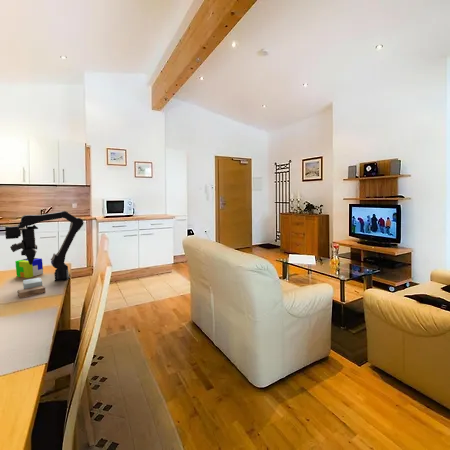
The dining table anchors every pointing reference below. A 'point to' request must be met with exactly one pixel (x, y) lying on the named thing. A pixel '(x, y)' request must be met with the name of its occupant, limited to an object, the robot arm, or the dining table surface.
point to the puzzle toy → (29, 268)
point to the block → (32, 283)
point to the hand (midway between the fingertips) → (30, 264)
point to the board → (31, 291)
